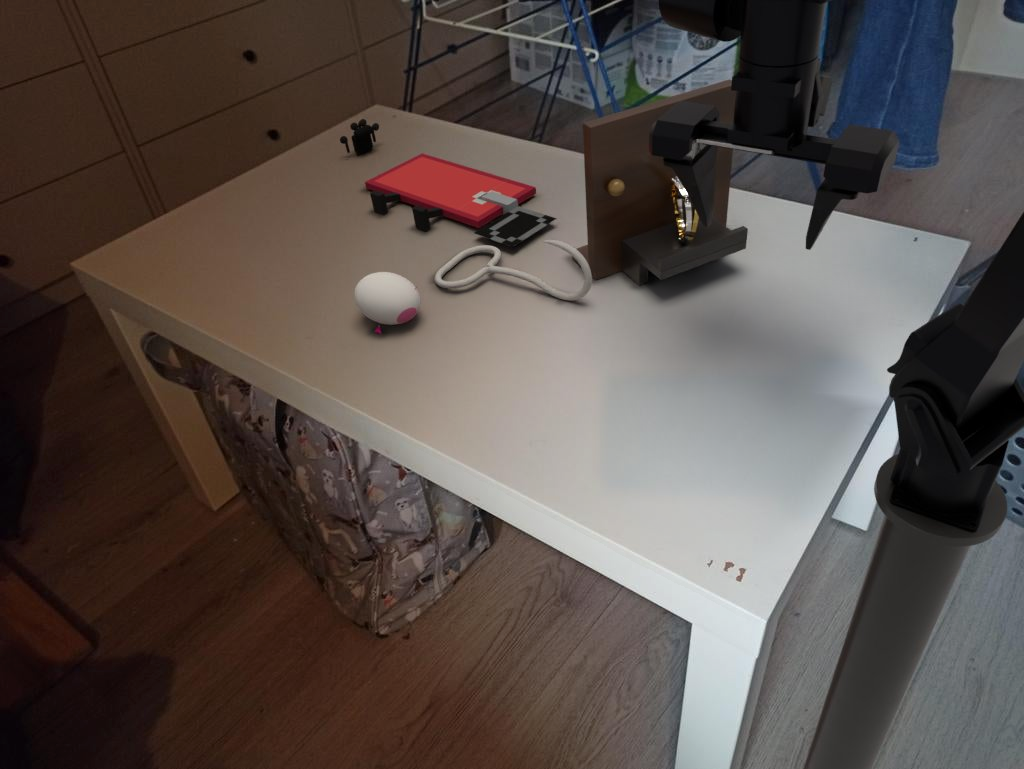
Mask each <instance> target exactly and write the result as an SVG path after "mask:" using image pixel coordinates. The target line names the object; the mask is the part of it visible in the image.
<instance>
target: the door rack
mask: <svg viewBox="0 0 1024 769" xmlns="http://www.w3.org/2000/svg"><path fill="white" fill-rule="evenodd" d="M731 85H732V79H725V80H723V81H720V82H716V83H713V84H708V85H706V86H703V87H699V88H696V89H693V90H689V91H686V92H682V93H678V94H676V95H671V96H669V97H665V98H662V99H659V100H656V101H651V102H649V103H645V104H642V105H639V106H634V107H632V108H631V107H630V108H628V109H625V110H622V111H621V110H620V111H618V112H615V113H611V114H608V115H604V116H601V117H598V118H595V119H590V120H588V121H584V122H582V138H583V139H582V140H583V161H584V164H583V165H584V188H585V208H586V210H585V211H586V212H585V213H586V235H587V236H586V237H587V244H585V245H583V246H580V247H577V248H575V249H576V250H578V251H579V252H580V253H581V254H582V255H583V257H584V258H585V259H586V261H587V263H588V265H589V267H590V270H591V274H592V279H594V280H595V281H597V280H600V279H603V278H605V277H608V276H611V275H614V274H617V273H619V272H623V273H624V274H625V275H627V276H628V277H629V278H630V279H631V280H632V281H634V283H636V284H637V285H638V286H641V285H643V284H646V283H648V282H649V271H650V272H651V273H652V274H653V275H655V277H657V278H658V279H659V280H661V281H662V280H665V279H667V278H670V277H672V276H675V275H678V274H681V273H684V272H687V271H689V270H691V269H694V268H697V267H700V266H703V265H705V264H708V263H710V262H713V261H716V260H718V259H721V258H724V257H726V256H729V255H732V254H735V253H738V252H740V251H743V250H746V248H747V242H748V241H747V240H748V231H749V228H748V227H746V226H744V225H742V226H739V227H736V228H734V229H729V228H728V227H727V221H728V211H729V201H730V200H729V198H730V188H731V176H732V174H731V173H732V165H733V164H732V163H733V154H734V153H733V152H734V149H729V148H723V147H718V151H717V155H716V159H715V166H714V167H715V171H714V211H713V218H712V223H711V224H710V226H709V227H707V228H706V227H703V225H702V223H701V221H700V219H698V224H697V228H696V232H695V235H694V237H693V239H692V241H691V242H683V243H682V242H681V241H679V239H678V232H677V227H676V221H675V215H674V208H673V201H672V193H671V185H670V178H672V177H674V176H676V174H675V172H674V171H673V169H672V168H670V167H666V166H664V165H663V158H664V157H658V156H653V155H651V154H650V152H649V133H650V130H651V127H652V124H653V123H655V122H656V121H657V120H658V119H659V118H660V117H661V116H663V115H664V114H665V113H666V112H667V111H668V110H669V109H671V108H672V107H673V106H674V105H675V104H676V103H678V102H679V101H684V102H692V103H699V104H706V105H713V106H716V107H717V109H718V111H719V122H724V123H730V124H733V121H734V109H735V98H736V91H733V90H731ZM676 193H677V188H676ZM689 199H690V198H689ZM690 203H691V211H692V217H693V209H694V206H693V204H692V202H691V200H690ZM682 213H683V221H684V226H685V230H686V209H685V204H684V200H683V198H682ZM571 260H573V261H574V262H575V263H576V264H577V265H578V266H580V264H579V263H578V261H577V260H576V259H575V258H574V257H573V256H572V255H571Z"/></svg>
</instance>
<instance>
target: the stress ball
mask: <svg viewBox="0 0 1024 769" xmlns="http://www.w3.org/2000/svg"><path fill="white" fill-rule="evenodd" d="M417 288H418V286H415V285H414V284H413V282H412V281H410V280H409V279H407V278H405V277H404V276H403V275H400V274H398V273H394V272H389V271H377V272H373V273H368V274H367V275H365V276H364V277H362V278H361V279H360V280H359V282H357V284H356V286H355V289H354V293H353V294H354V301H355V304H356V306H357V308H358V310H359V311H360V312H361V313H362V314H363V315H364V316H365V317H366V318H368V319H370V320H372V321H374V322H376V323H379V324H378V326H377V328H376V329H375V330H374V331H373V332H374V333H377V334H381V335H382V334H383V333H382V332H381V328H380V327H381V326H380V325H381V324H383V325H387V326H388V325H389V326H393V325H402V324H404V323H407V322H409V321H411V320H412V319H413V318H414V317H415V316H416V315H417V313H418V312H419V310H420V307H421V297H420V293H419V291H418V289H417Z"/></svg>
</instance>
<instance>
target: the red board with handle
mask: <svg viewBox="0 0 1024 769" xmlns="http://www.w3.org/2000/svg"><path fill="white" fill-rule="evenodd" d="M364 185H365V188H366V189H368V190H369V191H371V192H370V193H369V195H370V200H371V203H372V208H373V209H372V210H373V213H376V214H378V215H381V216H384V215H386V214H388V213H389V209H388V204H390V203H395V202H405V203H407V204H410V205H412V206H413V207H412V208H411V210H412V211H411V212H412V214H413V215H412V216H413V220H414V226H415V229H418V230H421V231H423V232H427V231H429V230H430V229H431V228H432V227H431V222H430V221H431V220H430V219H435V218H438V217H439V218H440V217H446V218H449V219H451V220H455V221H457V222H460V223H463V224H465V225H468V226H472V227H475V228H477V230H476V231H474V232H473V234H475V235H478V236H480V237H483V238H486V239H488V240H492V241H493V242H497V243H500V244H503V245H505V246H508V247H511V248H513V247H514V246H515V247H516V246H517V245H518V244H520V243H521V242H523V241H524V240H526V239H527V238H529V237H530V236H532V235H534V234H535V233H536V232H539V231H540V230H541V229H543V228H544V227H546V226H547V225H549V224H551V223H553V222H554V221H556V220H557V218H556V217H554V216H551V215H547V214H545V213H541V212H538V211H535V210H531V209H528V208H525V207H522V206H520V204H522V203H523V202H525V201H526V200H529V199H530V198H532V197H533V196H535V195H537V190H536V188H537V187H536V186H533V185H531V184H526V183H523V182H520V181H516V180H513V179H509V178H507V177H503V176H499V175H496V174H493V173H489V172H485V171H483V170H479V169H476V168H473V167H470V166H467V165H464V164H463V165H462V164H459V163H456V162H452V161H450V160H446V159H443V158H440V157H436V156H432V155H430V154H425V153H424V152H423V153H420V154H418V155H416V156H414V157H412V158H410V159H408V160H405V161H404V162H402V163H400V164H398V165H396V166H394V167H392V168H390V169H388V170H386V171H383V172H382V173H380V174H378V175H376V176H374V177H372V178H370V179H368V180H366V181H364Z"/></svg>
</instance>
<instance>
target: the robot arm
mask: <svg viewBox="0 0 1024 769" xmlns="http://www.w3.org/2000/svg"><path fill="white" fill-rule="evenodd" d="M832 1H833V0H658V2H657V3H658V10H659V14H660V16H661V18H662V20H663V21H664V23H665V24H666V25H667V26H669V27H670V28H674V29H677V30H681V31H685V32H688V33H692V34H695V35H697V36H698V35H699V36H702V37H706V38H709V39H713V40H716V41H719V42H723V43H726V42H727V43H728V42H733V41H735V40H737V39H738V38H739V37H740V43H739V52H738V63H737V64H738V65H737V72H736V73H735V74H734V75H732V77H731V80H732V85H731V90H733V91H736V98H735V109H734V121H733V124H730V123H724V122H719V111H718V109H717V107H716V106H713V105H706V104H699V103H692V102H684V101H679V102H678V103H676V104H675V105H674V106H673V107H672V108H671V109H669V110H668V111H667V112H666V113H665V114H664V115H663V116H661V117H660V118H659V119H658V120H657V121H656V122H655V123H653V124H652V127H651V130H650V133H649V152H650V154H651V155H653V156H658V157H664V158H663V165H664V166H666V167H670V168H672V169H673V171H674V172H675V174H676V176H677V177H678V179H679V180H680V182H681V184H682V185H683V187H684V188H685V190H686V192H687V194H688V196H689V198H690V200H691V202H692V204H693V206H694V208H695V210H696V212H697V214H698V217H699V219H700V221H701V223H702V225H703V227H706V228H707V227H709V226H710V224H711V223H712V218H713V211H714V171H715V167H714V166H715V159H716V155H717V151H718V147H723V148H729V149H733V150H735V151H742V152H747V153H748V152H749V153H753V154H761V155H767V156H773V157H779V158H785V159H790V160H798V161H801V162H809V163H814V164H819V165H822V164H823V165H824V171H823V177H824V179H823V180H822V182H821V184H820V185H819V186H818V187H817V189H816V193H815V197H814V202H813V206H812V210H811V214H810V218H809V223H808V226H807V232H806V235H805V250H808V251H811V249H812V248H813V247H814V246H815V244H816V241H818V239H819V236H820V234H821V233H822V231H823V229H824V228H825V227H826V226H825V225H826V224H827V222H828V220H829V219H830V217H831V215H832V214H833V212H834V210H835V209H836V208H837V206H838V205H839V204H840V203H841V201H842V200H847V201H853V200H856V199H858V198H859V197H860V195H861V194H872V193H878V191H879V189H880V188H881V186H882V184H883V183H884V181H885V180H886V178H887V177H888V175H889V173H890V172H891V170H892V168H893V167H894V165H895V163H896V159H897V155H898V151H899V147H900V140H899V138H898V135H897V134H896V132H895V131H894V130H892V129H885V128H878V127H870V126H863V125H855V124H848V125H847V126H846V127H845V128H844V130H842V131H841V133H840V134H839V136H838V137H837V138H829V137H823V136H817V135H810V134H808V128H815V126H817V124H818V123H819V120H820V117H824V116H825V114H826V110H827V105H828V101H829V96H830V93H831V89H832V84H833V80H834V76H828V75H822V74H820V72H821V59H822V58H821V57H819V54H820V47H821V41H822V35H823V27H824V21H825V14H826V8H827V7H826V6H827V3H829V2H832ZM1023 363H1024V211H1023V212H1022V214H1021V215H1020V217H1019V218H1018V220H1017V221H1016V223H1015V225H1014V226H1013V228H1012V229H1011V230H1010V232H1009V234H1008V235H1007V237H1006V239H1005V240H1004V242H1003V243H1002V245H1001V246H1000V248H999V250H998V251H997V253H996V254H995V255H994V257H993V259H992V260H991V262H990V264H989V265H988V266H987V269H986V270H985V272H984V273H983V275H982V276H981V278H980V279H979V281H978V283H976V285H975V287H974V289H973V290H972V292H971V293H970V295H969V297H968V298H967V300H966V301H965V303H964V305H963V304H962V302H957V303H956V304H954V305H952V306H951V307H949V308H947V309H946V310H945V311H942V312H941V313H940V314H938V315H937V316H935V317H933V318H932V319H931V320H929V321H927V322H926V323H924V324H922V325H921V326H920V327H918V328H917V329H915V330H913V331H912V332H911V333H910V334H909V335H908V337H907V338H906V341H905V343H904V345H903V348H902V352H901V354H900V356H899V359H898V360H897V361H895V363H893V364H892V365H890V366H889V367H888V368H887V369H886V371H887V373H888V374H892V375H893V376H892V378H891V380H890V382H889V385H888V395H889V397H890V398H891V399H893V400H892V401H893V402H894V409H895V417H896V426H897V434H898V435H897V436H898V442H899V443H898V444H899V451H898V453H897V454H898V457H897V460H896V463H895V466H894V469H893V473H892V476H891V479H890V480H891V481H892V483H895V487H894V489H893V492H892V494H891V497H890V503H891V504H892V505H894V506H897V507H899V508H902V509H905V510H908V511H911V512H914V513H917V514H919V515H922V516H925V517H928V518H931V519H934V520H937V521H939V522H942V523H945V524H948V525H951V526H954V527H956V528H959V529H962V530H965V531H968V532H972V533H973V532H976V531H977V530H978V528H979V525H980V521H981V518H982V514H983V511H984V507H985V504H986V501H987V498H988V496H989V494H990V492H991V489H992V487H993V485H994V482H995V480H996V481H997V479H998V475H999V473H1000V471H1001V470H1002V469H1001V468H1002V467H1003V464H1004V460H1005V456H1006V453H1007V450H1008V446H1009V442H1010V441H1009V440H1010V439H1012V438H1013V437H1014V436H1015V435H1016V434H1018V433H1020V431H1022V430H1023V429H1024V391H1023V389H1022V387H1021V384H1020V383H1019V381H1018V380H1017V376H1018V373H1019V372H1020V369H1021V367H1022V365H1023ZM895 499H897V500H899V501H896V500H895ZM969 525H972V526H973V527H971V526H969Z"/></svg>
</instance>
